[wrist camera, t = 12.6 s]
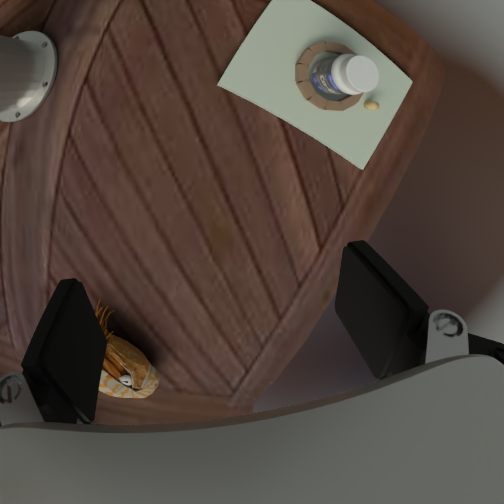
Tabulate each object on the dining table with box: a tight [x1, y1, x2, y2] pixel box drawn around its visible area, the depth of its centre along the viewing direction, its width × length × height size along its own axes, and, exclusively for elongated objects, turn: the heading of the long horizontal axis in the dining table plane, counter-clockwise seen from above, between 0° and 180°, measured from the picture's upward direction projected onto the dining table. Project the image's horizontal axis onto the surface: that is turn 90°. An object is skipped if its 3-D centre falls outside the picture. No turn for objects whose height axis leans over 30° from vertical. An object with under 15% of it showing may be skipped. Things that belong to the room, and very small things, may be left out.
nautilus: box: [96, 299, 159, 398], centre depth 43 cm, size 8×22×15 cm
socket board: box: [217, 0, 412, 170], centre depth 30 cm, size 22×16×3 cm
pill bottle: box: [311, 54, 379, 95], centre depth 27 cm, size 5×5×8 cm
